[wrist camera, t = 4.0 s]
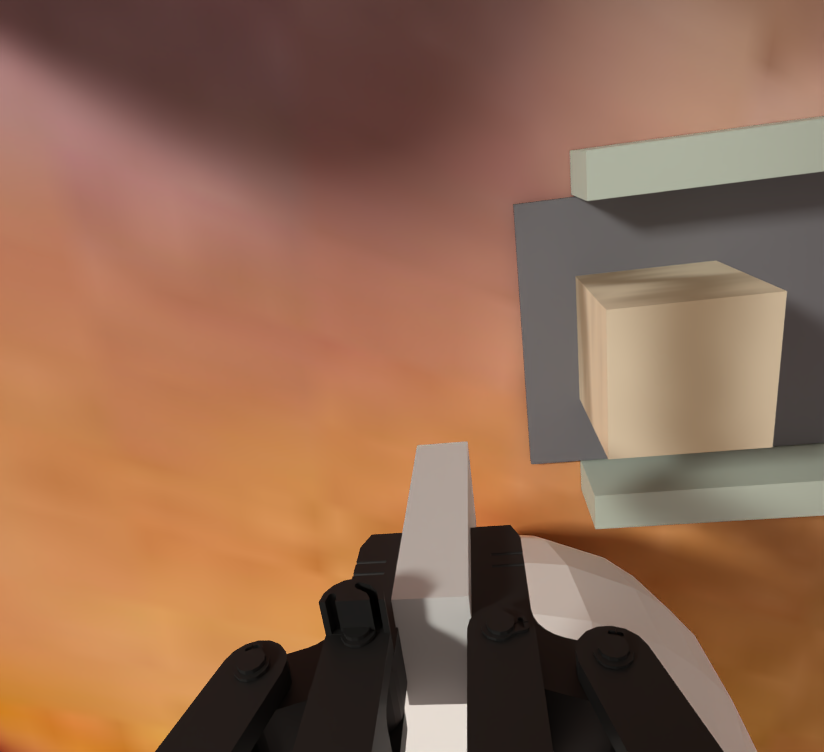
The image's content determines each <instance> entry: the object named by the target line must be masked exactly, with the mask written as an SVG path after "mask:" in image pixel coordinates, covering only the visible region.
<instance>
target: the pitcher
mask: <svg viewBox="0 0 824 752" xmlns="http://www.w3.org/2000/svg"><path fill="white" fill-rule="evenodd" d="M519 536H520V537H521V543H522V550H523V557H524V564H525V571H526V578H527V585H528V591H529V598H530V605H531V610H532V613H533V616H534V618H535V619H536V621H537V622H538V623H539V624H540V625H541V626H542V627H543V628H545V629H546V630H548V631H550V632H552V633H553V634H556V635H559V636H562V637H565V638H570V639H574V640H578V639H579V638H580V637H581V636H582V635H583V634H584V633H585V631H588V630H590V629H593V628H595V627H598V626H615V627H620V628H625V629H627V630H629V631H631V632H633V633H635V634H637V635H639V636H640V637H641V638H642V639H643V640H644V641H645V642H646V643H647V644H648V645H649V647H650V648H651V650H652V651H653V652H654V654H655V655H656V657H657V658H658V659H659V661H660V662H661V664H662V665H663V667H664V668H665V669H666V671H667V672H668V674H669V675H670V676H671V678H672V679H673V681H674V682H675V683H676V685H677V686H678V688H679V689H680V690H681V692H682V693H683V695H684V696H685V698H686V699H687V700H688V702H689V703H690V705H691V706H692V707H693V709H694V710H695V712H696V713H697V714H698V716H699V717H700V719H701V720H702V722H703V723H704V724H705V726H706V727H707V729H708V730H709V731H710V733H711V734H712V736H713V737H714V738H715V740H716V741H717V743H718V744H719V746H720V747H721V748H722V750H723V751H724V752H757V750H756V748H755V746H754V744H753V742H752V740H751V738H750V736H749V734H748V732H747V729H746V727H745V725H744V723H743V721H742V719H741V717H740V715H739V713H738V711H737V709H736V707H735V705H734V703H733V701H732V699H731V697H730V696H729V694H728V692H727V690H726V689H725V687H724V685H723V684H722V682H721V680H720V678H719V677H718V675H717V673H716V671H715V670H714V668H713V666H712V664H711V663H710V661H709V659H708V658H707V656H706V654H705V652H704V651H703V649H702V647H701V645H700V644H699V642H698V640H697V639H696V637H695V635H694V634H693V633H692V632H691V631H690V630H689V629H688V628H687V627H686V626H685V625H684V624H683V623H682V622H681V621H680V620H679V619H678V618H677V617H676V616H675V615H674V614H673V613H672V612H671V611H670V610H669V609H668V608H667V607H666V606H665V605H664V604H663V603H662V602H660V601H659V600H658V599H657V598H656V597H655V596H654V595H653V594H652V593H651V592H650V591H649V590H648V589H646V588H645V587H644V586H643V585H642V584H641V583H640V582H639V581H638V580H637V579H636V578H635V577H634V576H632V575H631V574H629V573H627V572H626V571H624V570H623V569H621V568H620V567H618V566H616V565H615V564H613V563H612V562H610V561H609V560H607V559H605V558H603V557H600V556H597V555H594V554H591V553H588V552H584V551H581V550H578V549H575V548H572V547H569V546H565V545H562V544H559V543H556V542H553V541H550V540H546V539H543V538H540V537H537V536H530V535H519ZM405 715H406V721H407V729H408V730H407V740H406V750H405V752H467V704H442V705H409V700H408V694H407V691H406V700H405Z"/></svg>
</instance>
